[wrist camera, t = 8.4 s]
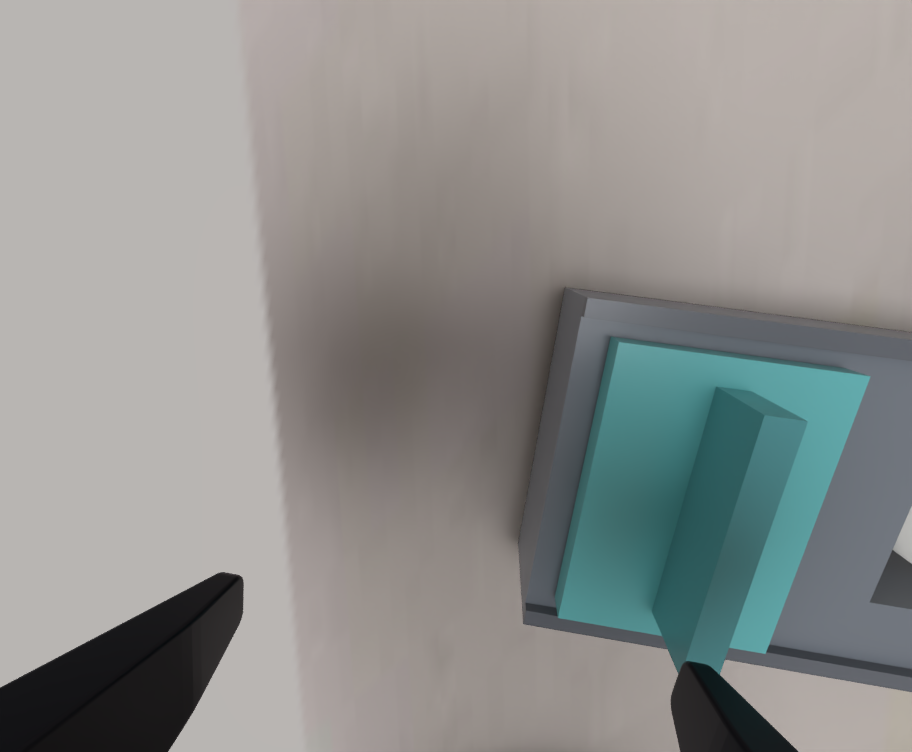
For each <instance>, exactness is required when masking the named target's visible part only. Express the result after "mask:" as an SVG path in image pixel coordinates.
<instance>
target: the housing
mask: <svg viewBox="0 0 912 752" xmlns="http://www.w3.org/2000/svg"><path fill="white" fill-rule="evenodd" d="M611 336H612V337H619V338H627V339H634V340H641V341H649V342H656V343H664V344H671V345H678V346H686V347H693V348H701V349H708V350H715V351H723V352H730V353H738V354H745V355H752V356H760V357H767V358H774V359H782V360H789V361H797V362H804V363H811V364H819V365H826V366H834V367H841V368H846V369H849V370H852V371H856V372H859V373H862V374H865V375H868V376H871V377H870V379H869V382H868V385H867V387H866V390H865V393H864V395H863V398H862V401H861V403H860V406H859V408H858V411H857V414H856V416H855V419H854V422H853V424H852V427H851V430H850V432H849V435H848V438H847V440H846V443H845V445H844V448H843V451H842V453H841V456H840V459H839V461H838V464H837V467H836V469H835V472H834V474H833V477H832V480H831V482H830V485H829V488H828V490H827V493H826V496H825V498H824V501H823V504H822V506H821V509H820V511H819V514H818V517H817V519H816V522H815V525H814V527H813V530H812V533H811V535H810V538H809V541H808V543H807V546H806V548H805V551H804V554H803V556H802V559H801V562H800V564H799V567H798V570H797V572H796V575H795V578H794V580H793V583H792V585H791V588H790V591H789V593H788V596H787V599H786V601H785V604H784V607H783V609H782V612H781V615H780V617H779V620H778V622H777V625H776V628H775V630H774V633H773V636H772V638H771V641H770V644H769V646H768V649H767V651H766V654H763V653H757V652H751V651H746V650H740V649H734V648H729V649H728V652H727V655H726V658H725V659H726V660H731V661H737V662H743V663H748V664H754V665H760V666H766V667H771V668H777V669H783V670H788V671H794V672H800V673H806V674H811V675H817V676H823V677H828V678H834V679H840V680H846V681H851V682H857V683H863V684H868V685H874V686H880V687H886V688H891V689H897V690H903V691H908V692H912V564H911V563H910V562H908V561H907V560H906V559H904V558H903V557H902V556H900V555H899V554H898V553H896V552H895V551H894V550H893V548H894V545H895V543H896V541H897V538H898V536H899V534H900V532H901V529H902V527H903V525H904V522H905V520H906V518H907V516H908V513H909V511H910V509H911V506H912V332H905V331H897V330H890V329H882V328H874V327H867V326H859V325H851V324H844V323H836V322H828V321H820V320H813V319H805V318H797V317H790V316H782V315H774V314H766V313H759V312H751V311H743V310H736V309H728V308H720V307H712V306H705V305H697V304H689V303H682V302H674V301H666V300H658V299H651V298H643V297H635V296H628V295H620V294H612V293H604V292H597V291H589V290H581V289H574V288H566V287H565V291H564V296H563V301H562V307H561V312H560V318H559V323H558V329H557V334H556V340H555V345H554V351H553V356H552V361H551V367H550V372H549V378H548V383H547V389H546V394H545V400H544V405H543V411H542V416H541V422H540V427H539V432H538V438H537V443H536V449H535V454H534V460H533V465H532V471H531V476H530V482H529V487H528V492H527V498H526V503H525V509H524V514H523V520H522V525H521V531H520V536H519V542H518V548H519V564H520V580H521V595H522V611H523V624H526V625H531V626H537V627H543V628H549V629H554V630H560V631H566V632H571V633H577V634H583V635H589V636H594V637H600V638H606V639H611V640H617V641H623V642H629V643H634V644H640V645H646V646H651V647H657V648H663V649H668V648H667V646H666V644H665V641H664V639H663V637H662V636H659V635H653V634H648V633H642V632H636V631H630V630H625V629H619V628H613V627H607V626H601V625H596V624H590V623H584V622H578V621H573V620H567V619H561V618H558V615H557V608H556V602H555V593H556V589H557V584H558V579H559V575H560V570H561V566H562V561H563V556H564V552H565V547H566V542H567V538H568V533H569V528H570V524H571V519H572V515H573V510H574V505H575V501H576V496H577V491H578V487H579V482H580V477H581V473H582V468H583V464H584V459H585V454H586V450H587V445H588V440H589V436H590V431H591V426H592V422H593V417H594V413H595V408H596V403H597V399H598V394H599V389H600V385H601V380H602V375H603V371H604V366H605V362H606V357H607V352H608V348H609V343H610V338H611Z"/></svg>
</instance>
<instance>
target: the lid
mask: <svg viewBox="0 0 912 752" xmlns="http://www.w3.org/2000/svg"><path fill="white" fill-rule="evenodd" d="M870 377H871V376H868V375H865V374H862V373H859V372H856V371H852V370H849V369H846V368H841V367H834V366H826V365H819V364H811V363H804V362H797V361H789V360H782V359H774V358H767V357H760V356H752V355H745V354H738V353H730V352H723V351H715V350H708V349H701V348H693V347H686V346H678V345H671V344H664V343H656V342H649V341H641V340H634V339H627V338H619V337H612V336H611V338H610V343H609V348H608V352H607V357H606V362H605V366H604V371H603V375H602V380H601V385H600V389H599V394H598V399H597V403H596V408H595V413H594V417H593V422H592V426H591V431H590V436H589V440H588V445H587V450H586V454H585V459H584V464H583V468H582V473H581V477H580V482H579V487H578V491H577V496H576V501H575V505H574V510H573V515H572V519H571V524H570V528H569V533H568V538H567V542H566V547H565V552H564V556H563V561H562V566H561V570H560V575H559V579H558V584H557V589H556V593H555V602H556V608H557V615H558V618H561V619H567V620H573V621H578V622H584V623H590V624H596V625H601V626H607V627H613V628H619V629H625V630H630V631H636V632H642V633H648V634H653V635H659V636H662V637H663V639H664V641H665V644H666V646H667V648H668V651H669V653H670V655H671V658H672V660H673V662H674V665H675V667H676V669H677V672H678V674H679V671H680V668H681V666H682V664H683V663H684V662H685V661H692V662H698V663H703V664H707V665H709V666H711V667H712V668H713V669H714V670H715V671H716V672H717V673H718V674H719V675H720V672H721V669H722V666H723V663H724V660H725V658H726V655H727V652H728V649H729V648H734V649H740V650H746V651H751V652H757V653H763V654H766V651H767V649H768V646H769V644H770V641H771V638H772V636H773V633H774V630H775V628H776V625H777V622H778V620H779V617H780V615H781V612H782V609H783V607H784V604H785V601H786V599H787V596H788V593H789V591H790V588H791V585H792V583H793V580H794V578H795V575H796V572H797V570H798V567H799V564H800V562H801V559H802V556H803V554H804V551H805V548H806V546H807V543H808V541H809V538H810V535H811V533H812V530H813V527H814V525H815V522H816V519H817V517H818V514H819V511H820V509H821V506H822V504H823V501H824V498H825V496H826V493H827V490H828V488H829V485H830V482H831V480H832V477H833V474H834V472H835V469H836V467H837V464H838V461H839V459H840V456H841V453H842V451H843V448H844V445H845V443H846V440H847V438H848V435H849V432H850V430H851V427H852V424H853V422H854V419H855V416H856V414H857V411H858V408H859V406H860V403H861V401H862V398H863V395H864V393H865V390H866V387H867V385H868V382H869V379H870Z"/></svg>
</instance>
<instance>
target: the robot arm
mask: <svg viewBox="0 0 912 752" xmlns="http://www.w3.org/2000/svg"><path fill="white" fill-rule="evenodd" d="M243 586H244V585H243V579H242V577H241V576H240V575H236V574H230V573H225V572H221V573H218V574H216V575H214V576H212V577H210V578H208V579H206V580H204V581H202V582H200V583H199V584H196V585H195V586H193V587H191V588H189V589H187V590H185V591H183V592H181V593H179V594H178V595H176V596H174V597H172V598H170V599H168V600H166V601H164V602H162V603H160V604H158V605H157V606H155V607H153V608H151V609H149V610H147V611H145V612H143V613H141V614H139V615H138V616H136V617H134V618H132V619H130V620H128V621H126V622H124V623H122V624H120V625H119V626H117V627H115V628H113V629H111V630H109V631H107V632H105V633H103V634H101V635H99V636H98V637H96V638H94V639H92V640H90V641H88V642H86V643H84V644H82V645H80V646H78V647H77V648H75V649H73V650H71V651H69V652H67V653H65V654H63V655H62V656H59V657H58V658H56V659H54V660H52V661H50V662H48V663H46V664H44V665H42V666H40V667H39V668H37V669H35V670H33V671H31V672H29V673H27V674H25V675H23V676H21V677H19V678H18V679H16V680H14V681H12V682H10V683H8V684H6V685H4V686H2V687H1V688H0V752H168V751H169V749H170V748H171V746H172V745H173V743H174V742H175V740H176V739H177V737H178V735H179V734H180V732H181V731H182V729H183V728H184V726H185V724H186V723H187V721H188V719H189V718H190V716H191V714H192V713H193V711H194V709H195V708H196V706H197V704H198V702H199V700H200V699H201V697H202V695H203V693H204V691H205V689H206V687H207V685H208V683H209V681H210V679H211V678H212V675H213V674H214V672H215V670H216V668H217V666H218V664H219V662H220V660H221V658H222V656H223V654H224V653H225V651H226V649H227V647H228V645H229V643H230V641H231V639H232V637H233V635H234V633H235V631H236V630H237V628H238V626H239V623H240V621H241V618H242V614H243ZM671 710H672V715H673V720H674V725H675V729H676V734H677V738H678V743H679V748H680V752H798V751H797V750H796V749H795V748H794V747H793V746H792V745H791V744H790V743H789V742H788V741H787V740H786V739H785V738H784V737H783V736H782V735H781V734H780V733H779V732H778V731H777V730H776V729H775V728H774V727H773V726H772V725H771V724H770V723H769V722H768V721H766V720H765V719H764V718H763V717H762V716H761V715H760V714H759V713H758V712H757V711H756V710H755V709H754V708H753V707H752V706H751V705H750V704H749V703H748V702H747V701H746V700H745V699H744V698H743V697H742V696H741V695H740V694H739V693H738V692H737V691H736V690H735V689H734V688H733V687H732V686H731V685H730V684H729V683H728V682H727V681H725V680H724V679H723V678H722V677H721V676H720V675H719V674H718V673H717V672H716V671H715V670H714V669H713V668H712V667H711V666H709V665H707V664H703V663H698V662H692V661H685V662H684V663H683V664H682V666H681V668H680V671H679V674H678V677H677V680H676V683H675V685H674V688H673V691H672V695H671Z"/></svg>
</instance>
